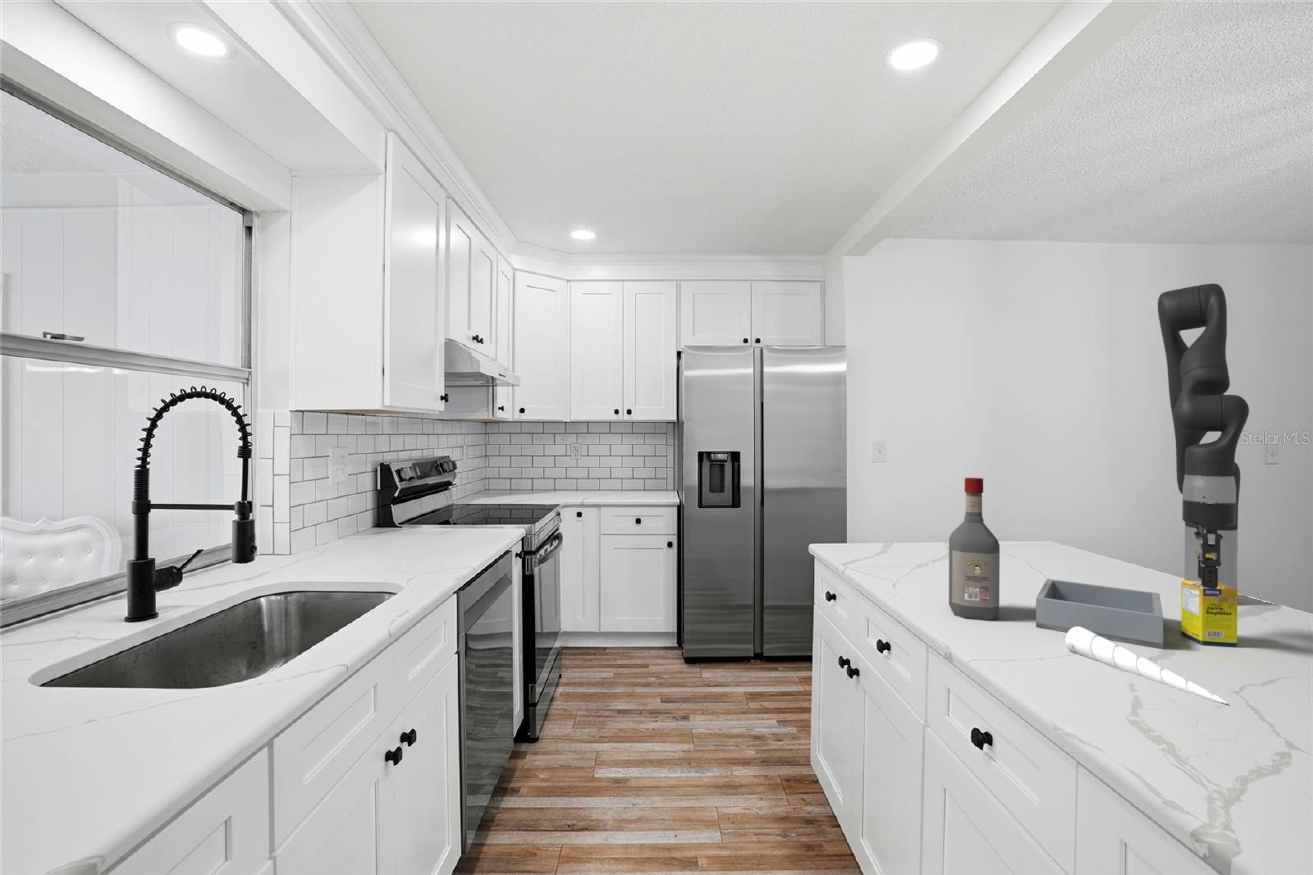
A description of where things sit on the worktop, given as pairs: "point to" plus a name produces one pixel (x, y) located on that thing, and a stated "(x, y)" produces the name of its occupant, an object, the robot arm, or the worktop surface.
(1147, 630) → the bin
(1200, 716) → the worktop surface
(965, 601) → the liquor
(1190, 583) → the supplement box
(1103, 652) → the unicorn horn
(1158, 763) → the worktop surface
